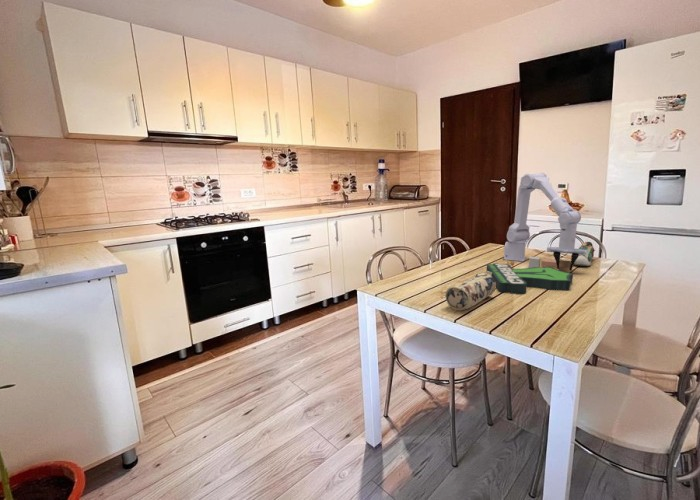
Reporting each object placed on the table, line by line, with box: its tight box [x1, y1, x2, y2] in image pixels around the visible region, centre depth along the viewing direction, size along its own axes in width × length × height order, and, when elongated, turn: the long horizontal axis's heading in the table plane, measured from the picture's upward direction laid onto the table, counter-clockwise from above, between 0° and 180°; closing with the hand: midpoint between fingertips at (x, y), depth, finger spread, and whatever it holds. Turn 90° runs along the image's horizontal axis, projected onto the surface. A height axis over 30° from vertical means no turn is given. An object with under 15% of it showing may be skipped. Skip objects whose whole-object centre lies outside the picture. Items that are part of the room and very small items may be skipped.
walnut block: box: [558, 259, 571, 273], centre depth 148 cm, size 4×4×5 cm
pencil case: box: [444, 270, 497, 311], centre depth 117 cm, size 22×8×10 cm, turn 133°
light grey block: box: [528, 256, 541, 268], centre depth 157 cm, size 4×4×5 cm
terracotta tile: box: [540, 257, 562, 269], centre depth 160 cm, size 7×7×3 cm
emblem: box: [486, 263, 574, 295], centre depth 138 cm, size 30×4×30 cm
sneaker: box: [573, 241, 596, 267], centre depth 162 cm, size 8×21×10 cm, turn 138°
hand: (564, 269), depth 148 cm, fingers closed on walnut block, 4 cm apart
